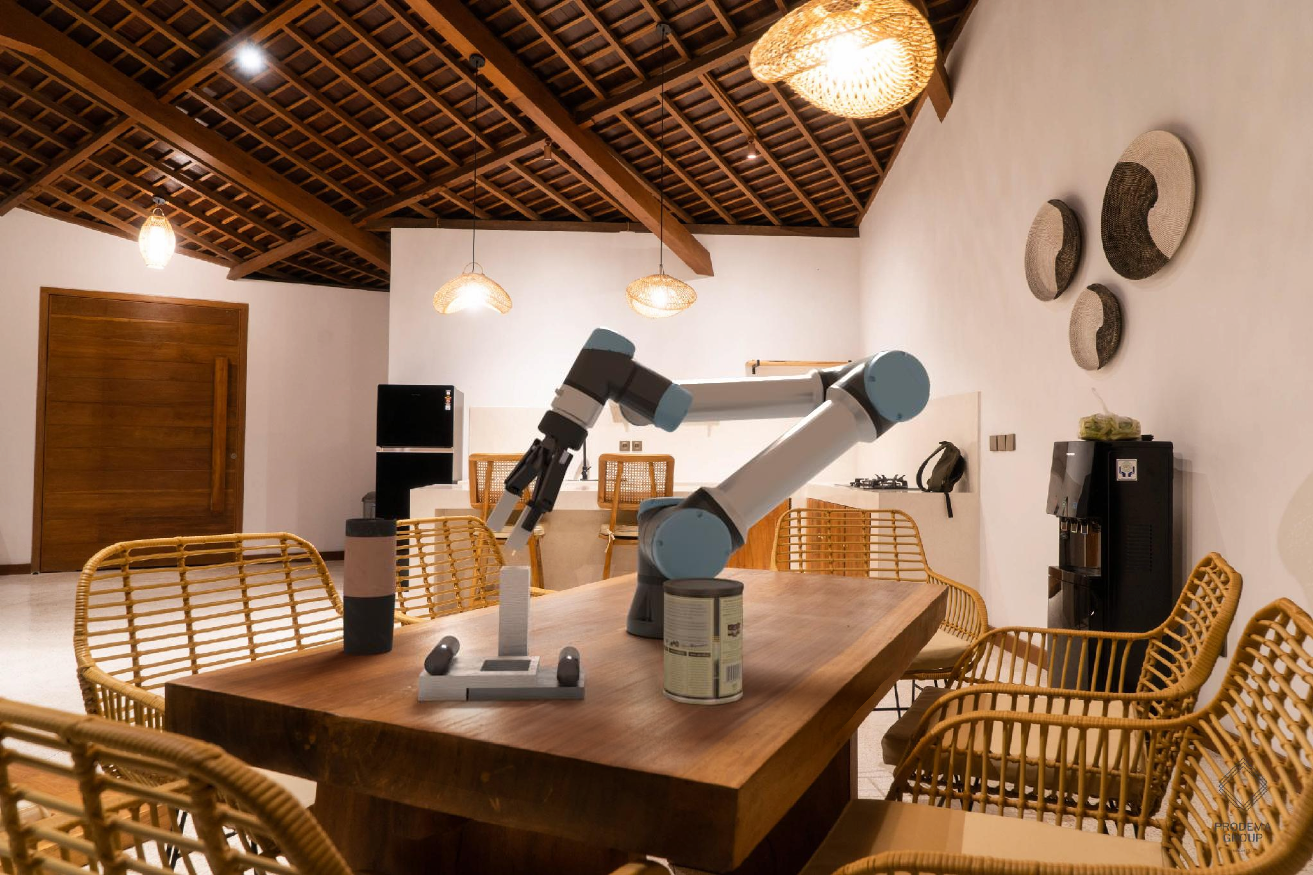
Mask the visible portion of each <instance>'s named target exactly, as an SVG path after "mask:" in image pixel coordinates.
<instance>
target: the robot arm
mask: <svg viewBox="0 0 1313 875" xmlns="http://www.w3.org/2000/svg"><path fill="white" fill-rule="evenodd" d="M636 349H637V348H636V346H635V344H634V342H632V341H631V340H630V339H628V338H627V337H626V336H624V335H622V334H621V333H620V332H618V331H616V330H613V329H611V328H608V327H605V326H599V327H597V328H595V329H593V330H592V332H591V334H590V336H589V337H588V339H587V340H586V342H585V343H584V344H583V346H582V348H581V350H580V351H579V353H578V355H577V357H576V358H575V360H574V362H573V364H572V366H571V368H570V370H569V371H568V373H567V375H566V377H565V378H564V380H563V382H562V384H561V386H560V388H559V387H557V388H555V389H554V393H555V394H556V395H555V396H554V398H553V399H552V401H551V403H550V405H551V406H550V407H551V408H552V409H548V410H546V411H545V413H544V414H543V416H542V418H541V420H540V421H539V423H538V426H537V431H538V432H540V433H542V434H543V435H544V438H543V439H540V438H538V437H536V438H534V440H533V442H532V444H531V445H530V447H529V448H528V450H527V451H526V452H525V453H524V455H523V456H522V458H521V459H520V460H519V462H518V463H517V464H516V465H515V467H514V468H513V469H512V471H511V472H510V473H509V474H508V475H507V477H506V478H505V479H504V482H503V484H504V485H505V486H504V490H503V492H502V494H501V496H500V497H499V498H498V501H497V502H496V504H495V506H494V508H493V510H492V511H491V513H490V515H489V516H488V518H487V520H486V522H485V524H484V526H485V527H487V528H488V529H490V530H492V531H495V532H497V533H498V534H501V532H502V530H503V528H504V526H505V525H506V524H507V522H508V520H509V518H510V516H511V515H512V513H513V511H514V509H515V507H516V506H517V504H518V502H519V500H520V499H522V498H523V495H524V490H525V489H526V488H527V487H528V486H529V485H530V484H531V483H532V482H534V480H535V479H536V480H535V484H534V488H533V491H532V495H531V498H530V499H527V501H526V502H525V503H524V504H525V506H524V509H523V510H522V512H521V514H520V515H519V518H518V520H517V521H516V523H515V525H514V526H513V529H512V530H511V531H510V534H509V535H508V537H507V539H505V543H504V545H505V546H506V547H508V548H510V549H512V550H514V551H516V552H518V553H521V554H522V552H523V551H524V549H525V547H526V545H527V544H528V542H529V540H530V538H531V536H532V534H533V533H534V531H535V529H536V527H537V525H538V524H539V522H540V520H541V519H542V517H543V515H545V514H547V513H551V512H552V511H553V510H554V507H555V504H556V501H557V499H558V495H559V493H560V490H561V488H562V485H563V482H564V479H565V476H566V474H567V471H568V468H569V466H570V464H571V462H572V461H573V458H574V454H572V453H571V452H569V451H568V449H570V450H572V451H574V452H579V451H580V450H581V448H582V447H583V445H584V443H585V441H586V439H587V438H588V435H589V431H588V430H589V429H593V428H594V426H595V424H596V423H597V421H598V420H599V417H600V415H601V413H602V411H603V409H604V408H605V406H606V404H607V402H608V400H611V401H612V402H614V403H615V404H618V408H619V411H620V415H621V416H622V417H623V419H624V420H625V421H626V422H627V423H629V424H631V425H633V426H635V427H646V426H649V425H653V426H654V427H655V428H657V429H661V430H663V431H665V432H666V433H673V432H675V431H676V430H677V429H678V428H679V427H680V426H681V424H684V423H703V422H705V423H706V422H723V421H724V422H728V421H748V420H751V421H752V420H771V419H790V418H791V419H793V418H797V419H798V418H803V419H801V420H800V421H799V422H798V423H796V424H795V425H793V426H792V427H791V428H790V429H789V430H787V431H786V432H784V433H783V434H782V435H781V436H780V437H778V438H777V439H776V440H774V441H773V442H772V443H770V444H769V445H768V446H767V447H765V448H764V449H762V450H761V451H760V452H759V453H757V454H756V455H755V456H754V457H753V458H751V459H750V460H748V461H747V462H746V463H745V464H743V465H742V466H741V467H740V468H738V469H737V470H736V471H735V472H733V473H732V474H731V475H729V476H728V477H727V478H725V479H724V480H723V481H722V482H721V483H719V484H718V485H717V486H714V487H708V486H700V487H699V488H697V489H696V490H695V491H694V492H692V493H691V494H690V495H688V496H687V497H681V496H671V497H670V496H669V497H668V496H666V497H663V496H662V497H655V498H654V497H651V498H645V499H643V500H642V501H641V502H640V503H639V505H638V510H637V511H638V513H637V516H636V519H637V522H638V523H637V571H636V572H637V575H636V578H637V579H636V580H637V582H636V583H637V584H636V589H635V592H634V594H633V596H632V597H633V598H632V600H631V604H630V607H629V609H628V613H627V616H626V631H627V632H628V633H629V634H632V635H636V636H639V637H640V636H641V637H644V638H646V637H647V638H655V639H664V588H663V583H664V582H665V581H668V580H672V579H679V578H717V576H719V575H720V573H722V572H723V570H724V569H725V567H726V566H727V564H728V562H729V560H730V557H732V555H734V554H735V553H736V552H738V550H740V549H741V548H742V547H744V546H745V545H746V544H747V540H748V532H749V529H751V528H752V527H753V526H754V525H756V524H757V523H758V522H759V521H760V520H762V519H763V518H764V517H766V516H767V515H769V514H770V513H771V512H773V510H774V509H775V508H778V507H779V505H781V504H782V503H783V502H784V501H786V500H787V499H788V498H790V497H791V496H792V495H793V494H794V493H796V492H797V491H798V490H800V489H801V488H802V487H804V486H805V485H806V484H808V482H810V481H811V480H812V479H814V478H815V477H817V476H818V475H819V474H820V473H821V472H822V471H824V470H825V469H827V467H829V466H830V465H832V463H834V462H835V461H836V460H838V459H839V458H840V457H842V456H843V455H844V454H845V453H846V452H848V451H849V450H851V448H853V447H854V446H855V445H857V444H858V443H859V442H860V443H867V444H872V443H874V442H875V441H877V439H879V438H880V437H882V436H883V435H884V434H885V433H886V432H888V431H889V430H890V429H892V428H893V427H894V426H896V424H898V423H905V422H908V421H910V420H912V419H914V418H916V417H917V416H919V414H921V413H922V412H923V411H924V410H925V409H926V407H927V405H928V402H929V400H930V395H931V393H930V391H931V381H930V377H929V373H928V372H927V369H926V368H925V366H924V365H923V364H922V362H921V361H920V360H919V359H918V358H917V357H915V356H914V355H912V354H911V353H909V352H907V351H903V350H898V349H897V350H896V349H893V350H889V349H888V350H882V351H880V352H878V353H875V354H873V355H871V356H867V357H864V358H863V357H862V358H860V359H857V360H854V361H851V362H848V363H844V364H842V365H838V366H834V367H827V368H823V369H810V370H809V371H808V372H807V373H805V375H790V376H789V375H786V376H766V377H765V376H762V377H761V376H760V377H741V378H737V377H736V378H733V377H732V378H720V379H719V378H714V379H713V378H712V379H692V380H690V379H686V380H671V379H669V378H668V377H666V376H664V375H662V374H660V373H658V372H657V371H655V370H653V369H651V368H650V367H648V366H646V365H644V364H643V363H641V362H639V361H638V360H637V359H635V358H634V356H635V353H636Z"/></svg>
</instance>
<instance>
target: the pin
mask: <svg viewBox="0 0 1313 875" xmlns="http://www.w3.org/2000/svg"><path fill="white" fill-rule="evenodd" d="M498 597H499V600H498V602H499V603H498V639H497V640H498V643H497V644H498V645H497V646H498V648H497V651H498V652H497V655H498V656H530V616H531V614H530V613H531V611H530V609H531V608H530V607H531V606H530V605H531V565H530V566H528V565H525V566H524V565H514V566H513V565H511V566H510V565H507V566H506V565H502V566H501V568H500V569H499V596H498Z"/></svg>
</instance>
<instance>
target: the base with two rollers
mask: <svg viewBox="0 0 1313 875" xmlns="http://www.w3.org/2000/svg"><path fill="white" fill-rule="evenodd" d="M460 644H461V643H460V641H459V639H458V638H457V637H456V636H453V635H446V636H443V637H442V638H441V639H440V640H439V642H437V644H436V645H435V646H434V647H433V649H432V650H431V651H430V652H429V654H428V655H427V656H426V657H425V659H424V663H423V667H424V669H423V670H422V671H421V672H420V673H419V675H418V689H417V690H418V691H417V692H418V694H417V696H418V697H417V699H418V702H436V701H437V702H442V701H444V702H446V701H450V702H452V701H456V702H457V701H521V700H522V701H528V700H530V701H537V700H541V701H543V700H544V701H545V700H546V701H547V700H548V701H549V700H550V701H551V700H553V701H554V700H584V699H585V667H584V666H582V667H581V666H580V665H581V664H580V663H581V662H580V661H581V660H580V659H581V655H580V652H579V650H578V649H577V648H576V647H574V646H571V645H570V646H565V647H563V648H562V649H561V650H560V651H559V656H558V662H557V667H552V666H551V667H550V666H549V667H547V666H546V667H545V666H544V667H540V663H541V662H540V660H541V659H540V658H541V657H540V655H539V656H538V655H535V656H534V655H532V656H530V655H529V656H457V654H458V653H459V651H460V649H461V645H460ZM467 699H468V700H467Z"/></svg>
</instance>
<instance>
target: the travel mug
mask: <svg viewBox="0 0 1313 875" xmlns="http://www.w3.org/2000/svg"><path fill="white" fill-rule="evenodd" d="M397 522H398V520H397V518H394V519H392V520H391V519H390V520H385V519H384V518H381V517H360V518H359V517H358V518H347V519H346V520H345V536H344V538H345V539H344V558H343V586H342V588H343V589H342V594H343V595H342V610H343V611H342V614H343V615H342V619H343V620H342V622H343V624H342V626H343V629H342V630H343V631H342V634H343V636H342V637H343V638H342V640H343V648H342V649H343V652H344V653H345V654H347V655H354V656H370V655H378V654H379V655H380V654H385V653H388V652H390V651H392V649H393V647H394V646H393V642H394V629H395V612H396V610H395V609H396V593H397V592H396V590H397V589H396V588H397V584H396V582H397V539H398V537H397V535H398V534H397V529H398V526H397V524H398V523H397Z"/></svg>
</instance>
